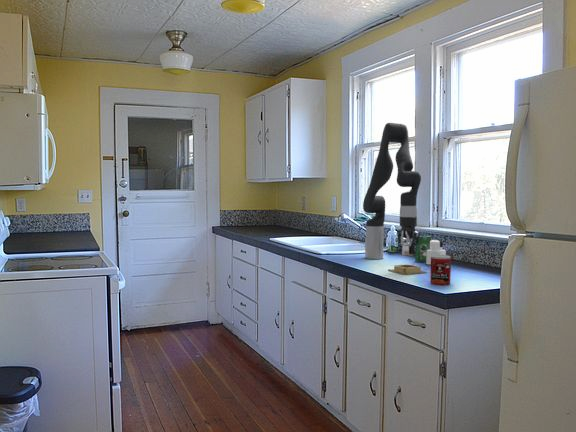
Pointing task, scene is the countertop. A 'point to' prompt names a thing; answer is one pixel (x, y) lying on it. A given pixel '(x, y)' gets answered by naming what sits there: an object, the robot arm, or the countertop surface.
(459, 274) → the countertop surface
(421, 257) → the coffee box
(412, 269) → the collar
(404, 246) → the cylinder
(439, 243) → the medicine bottle
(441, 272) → the canned food
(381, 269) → the countertop surface
